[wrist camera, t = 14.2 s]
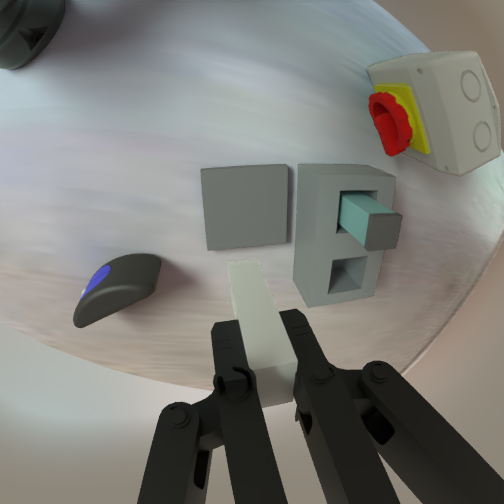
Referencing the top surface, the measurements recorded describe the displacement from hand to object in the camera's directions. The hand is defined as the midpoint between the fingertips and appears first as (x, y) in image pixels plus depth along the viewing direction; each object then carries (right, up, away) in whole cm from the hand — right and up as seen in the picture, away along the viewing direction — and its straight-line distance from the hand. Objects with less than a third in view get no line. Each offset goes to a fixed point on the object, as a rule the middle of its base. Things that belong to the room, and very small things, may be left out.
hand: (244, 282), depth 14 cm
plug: (+13, +10, +27) cm, 32 cm away
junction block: (+13, +6, +30) cm, 33 cm away
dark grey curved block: (-21, -2, +28) cm, 35 cm away
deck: (-1, +8, +26) cm, 27 cm away
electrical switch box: (+22, +25, +22) cm, 40 cm away
